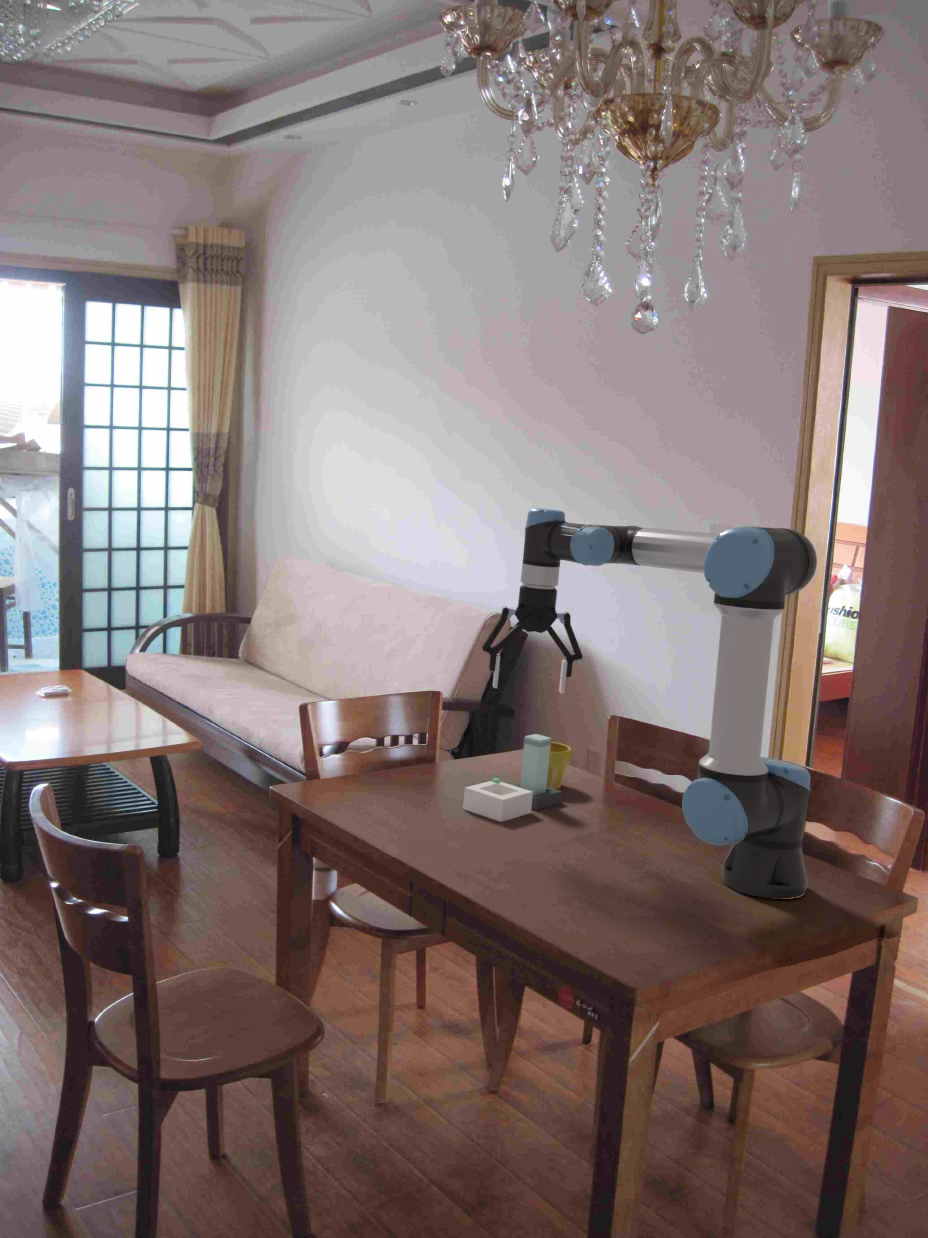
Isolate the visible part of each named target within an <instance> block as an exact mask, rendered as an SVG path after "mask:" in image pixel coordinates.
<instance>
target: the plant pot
mask: <svg viewBox="0 0 928 1238" xmlns="http://www.w3.org/2000/svg"><path fill="white" fill-rule="evenodd" d="M571 756H572V748H571V747H570V746H569V745H568V744H567V745H566V744H564V743H562V742H561V743H559V742H555V741H551V745H550V755H549V765H548V775H547V785H546V786H547V787H550V788H553V789H556V790H558V789H560V788H561V786H562V782H563V780H564V776H565V772H566V770H567V765H570V763H571V758H572V757H571Z"/></svg>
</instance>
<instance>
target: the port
mask: <svg viewBox="0 0 928 1238" xmlns="http://www.w3.org/2000/svg"><path fill="white" fill-rule="evenodd" d="M513 785H514V784H510V783H506V782H503V781H501V778H497V777H494V778H492V779H491V780H490V781H485V782H482V783H477V784H474V785H469V786H466V787H464V790H463V791H464V795H463V804H462V809H463V810H465V811H467V812H471V813H473V814H475V815H476V814H477V815H479V816H483V817H485V818H488V819H491V820H494V821H498V822H506V821H508V820H512V819H515V818H519V817H522V816H526V815H528V814H531V813H532V809H531V807H532V796H533V791H529V790H526V789H523V788H520V787H516V786H513Z"/></svg>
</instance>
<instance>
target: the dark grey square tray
mask: <svg viewBox="0 0 928 1238" xmlns="http://www.w3.org/2000/svg"><path fill="white" fill-rule="evenodd" d="M512 785H513V786H516V787H520V783H516V784H512ZM562 796H563V791H562V790H559V789H553V788H550V787H547V786H546V793H542V794H539V795H533V796H532V807H531V810H534V811H538V810H542V809H545V808H548V807H551V806H555V805H559V804H561V803H562V800H563V797H562Z"/></svg>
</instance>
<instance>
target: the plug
mask: <svg viewBox="0 0 928 1238" xmlns="http://www.w3.org/2000/svg"><path fill="white" fill-rule="evenodd" d="M551 742H552V737H548V736H546V735H542V734H538V733H533V734H529V735H525V736H524V738H523V751H522V752H523V753H522V764H521V774H520V783H519V784H520V788H523V789H526V790H529V791H533V795H539V794H542V793H546V785H547V775H548V765H549V755H550V745H551Z"/></svg>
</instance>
